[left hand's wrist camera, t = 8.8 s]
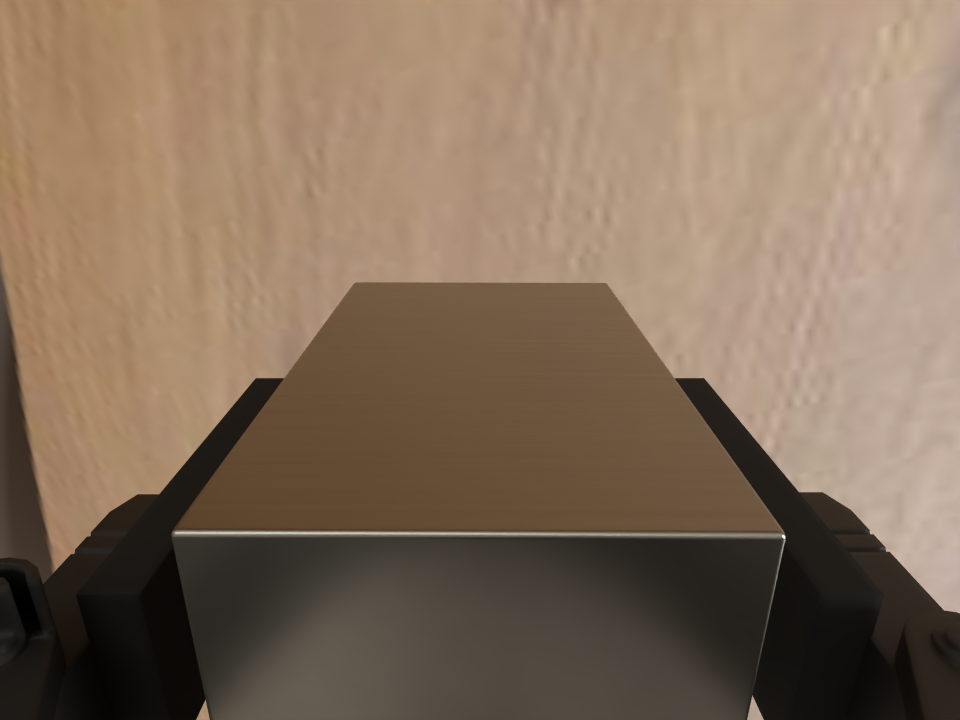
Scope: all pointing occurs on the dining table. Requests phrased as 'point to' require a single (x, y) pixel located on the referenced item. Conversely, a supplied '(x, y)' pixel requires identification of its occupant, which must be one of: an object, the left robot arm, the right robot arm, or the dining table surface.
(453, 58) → the dining table surface
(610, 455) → the bar
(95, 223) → the dining table surface
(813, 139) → the dining table surface
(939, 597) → the dining table surface
